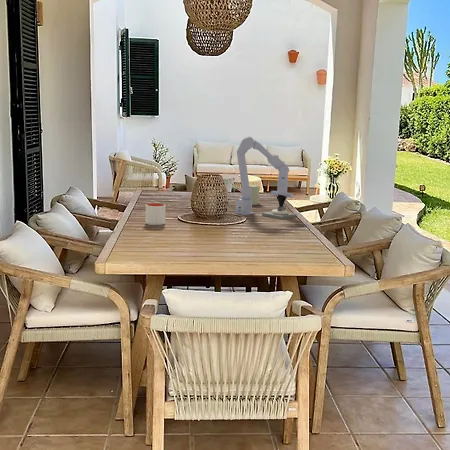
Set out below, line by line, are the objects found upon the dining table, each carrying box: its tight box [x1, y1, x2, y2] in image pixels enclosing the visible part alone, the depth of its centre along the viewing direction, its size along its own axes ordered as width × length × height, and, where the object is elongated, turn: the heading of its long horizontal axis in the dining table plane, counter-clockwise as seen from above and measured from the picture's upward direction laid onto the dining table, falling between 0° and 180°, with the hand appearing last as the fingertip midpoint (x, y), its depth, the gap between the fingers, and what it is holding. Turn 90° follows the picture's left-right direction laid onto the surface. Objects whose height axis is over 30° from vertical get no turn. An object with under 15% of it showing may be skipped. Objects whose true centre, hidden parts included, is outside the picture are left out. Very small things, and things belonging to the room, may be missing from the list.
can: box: [249, 184, 260, 206], centre depth 389 cm, size 9×9×12 cm
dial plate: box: [261, 210, 297, 220], centre depth 349 cm, size 14×14×2 cm
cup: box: [145, 202, 166, 226], centre depth 310 cm, size 10×10×10 cm
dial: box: [271, 205, 288, 215], centre depth 349 cm, size 11×9×4 cm
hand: (281, 208), depth 352 cm, fingers closed, pressing on dial
